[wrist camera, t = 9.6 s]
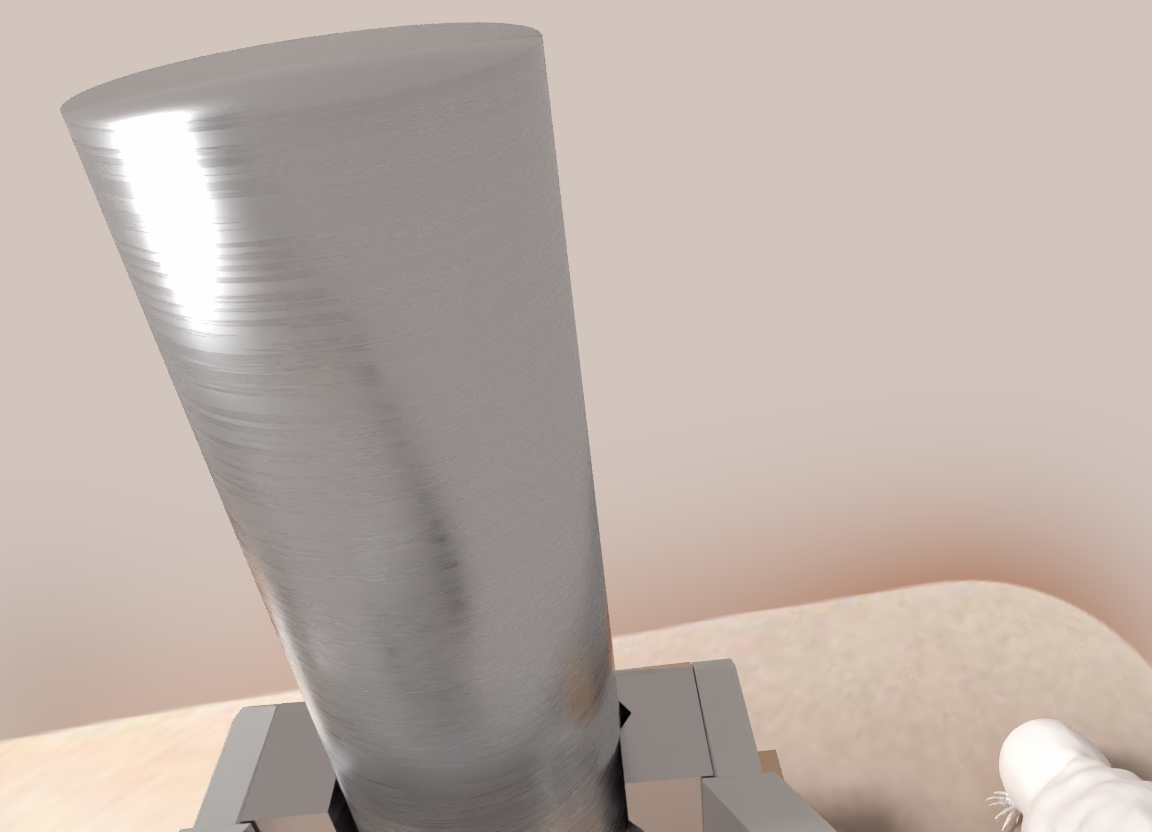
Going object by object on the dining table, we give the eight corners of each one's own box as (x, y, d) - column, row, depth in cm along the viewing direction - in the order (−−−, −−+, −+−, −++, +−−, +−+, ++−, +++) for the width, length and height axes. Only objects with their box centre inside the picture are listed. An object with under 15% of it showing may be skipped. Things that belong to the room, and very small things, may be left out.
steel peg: (367, 1254, 14) (-425, 196, 4) (495, 917, 18) (234, 23, 9) (700, 1404, 12) (569, 194, 3) (754, 992, 17) (774, -21, 7)
